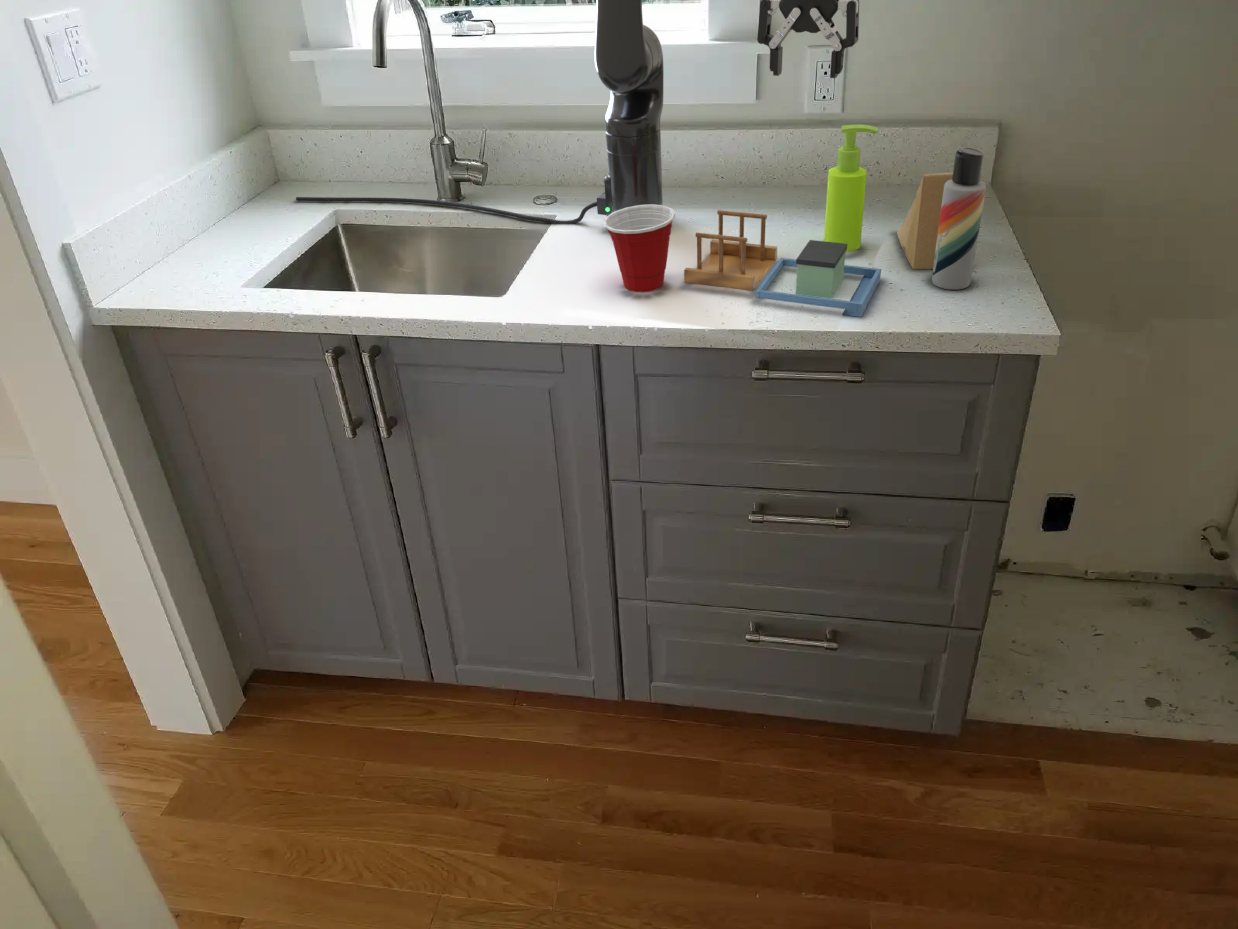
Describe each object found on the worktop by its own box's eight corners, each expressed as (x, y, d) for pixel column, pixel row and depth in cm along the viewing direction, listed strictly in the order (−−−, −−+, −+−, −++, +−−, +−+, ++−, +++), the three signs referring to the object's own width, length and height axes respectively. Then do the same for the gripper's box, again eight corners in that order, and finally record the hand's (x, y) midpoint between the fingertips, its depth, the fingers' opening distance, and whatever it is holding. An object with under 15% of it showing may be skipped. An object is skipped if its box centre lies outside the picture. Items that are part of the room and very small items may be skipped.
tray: (755, 303, 145) (755, 290, 144) (780, 269, 155) (780, 257, 154) (861, 317, 140) (862, 304, 138) (879, 280, 149) (881, 268, 148)
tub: (794, 297, 145) (796, 258, 142) (807, 276, 151) (809, 239, 148) (832, 301, 143) (835, 263, 140) (844, 280, 149) (847, 243, 146)
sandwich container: (947, 231, 164) (960, 141, 156) (968, 268, 152) (983, 172, 143) (895, 233, 165) (905, 143, 156) (911, 269, 152) (923, 174, 144)
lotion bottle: (926, 276, 150) (943, 145, 138) (962, 273, 150) (982, 142, 139) (939, 291, 145) (958, 157, 134) (976, 288, 145) (998, 153, 134)
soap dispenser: (866, 257, 157) (878, 131, 146) (822, 256, 158) (831, 131, 147) (866, 244, 162) (877, 120, 150) (823, 243, 163) (831, 120, 152)
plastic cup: (608, 276, 156) (604, 203, 150) (676, 274, 156) (674, 200, 149) (606, 305, 147) (601, 229, 141) (677, 302, 147) (676, 226, 140)
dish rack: (684, 287, 151) (683, 234, 146) (712, 256, 161) (712, 206, 156) (752, 296, 147) (753, 242, 142) (776, 264, 157) (778, 212, 152)
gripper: (869, -52, 135) (859, 72, 144) (769, -52, 140) (766, 67, 149) (857, -44, 129) (847, 84, 138) (754, -44, 134) (751, 79, 144)
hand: (805, 75), depth 144 cm, fingers open, 8 cm apart
